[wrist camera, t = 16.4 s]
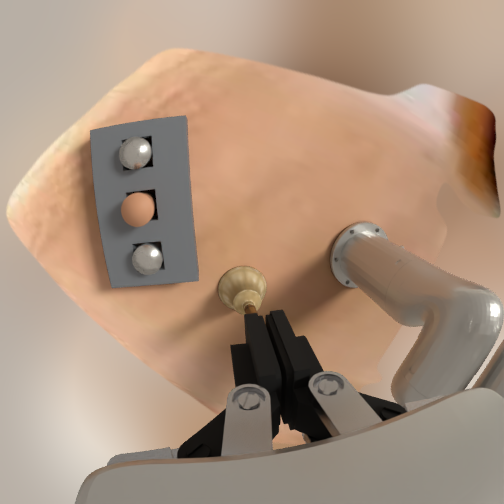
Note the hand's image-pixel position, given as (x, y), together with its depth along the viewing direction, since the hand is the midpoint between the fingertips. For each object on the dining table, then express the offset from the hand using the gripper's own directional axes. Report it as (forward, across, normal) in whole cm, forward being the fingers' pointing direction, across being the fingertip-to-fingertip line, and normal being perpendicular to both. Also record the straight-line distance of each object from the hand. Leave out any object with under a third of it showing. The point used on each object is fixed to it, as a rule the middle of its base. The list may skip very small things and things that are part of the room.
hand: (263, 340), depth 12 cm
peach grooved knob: (+31, +12, -2) cm, 33 cm away
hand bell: (+34, -2, +14) cm, 36 cm away
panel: (+33, +12, -2) cm, 35 cm away
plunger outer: (+32, +12, -10) cm, 36 cm away
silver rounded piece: (+32, +12, +5) cm, 35 cm away
